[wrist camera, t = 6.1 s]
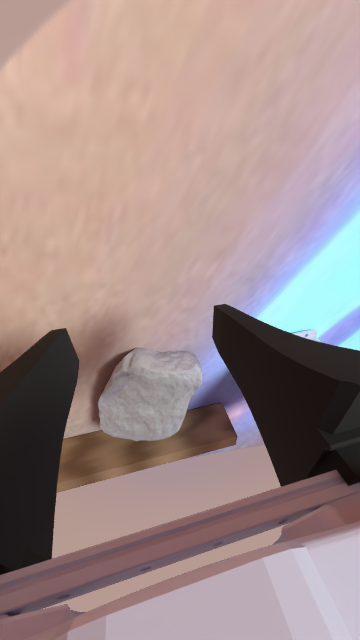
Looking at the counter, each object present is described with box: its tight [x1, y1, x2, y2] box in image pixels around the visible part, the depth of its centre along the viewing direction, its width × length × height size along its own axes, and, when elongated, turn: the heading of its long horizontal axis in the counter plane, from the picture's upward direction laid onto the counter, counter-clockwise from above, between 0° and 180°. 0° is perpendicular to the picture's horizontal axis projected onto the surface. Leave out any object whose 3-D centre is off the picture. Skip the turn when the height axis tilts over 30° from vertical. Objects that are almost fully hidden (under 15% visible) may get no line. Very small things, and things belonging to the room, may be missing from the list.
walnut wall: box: [56, 403, 237, 493], centre depth 27 cm, size 24×2×5 cm, turn 92°
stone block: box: [98, 348, 202, 441], centre depth 25 cm, size 12×5×10 cm
